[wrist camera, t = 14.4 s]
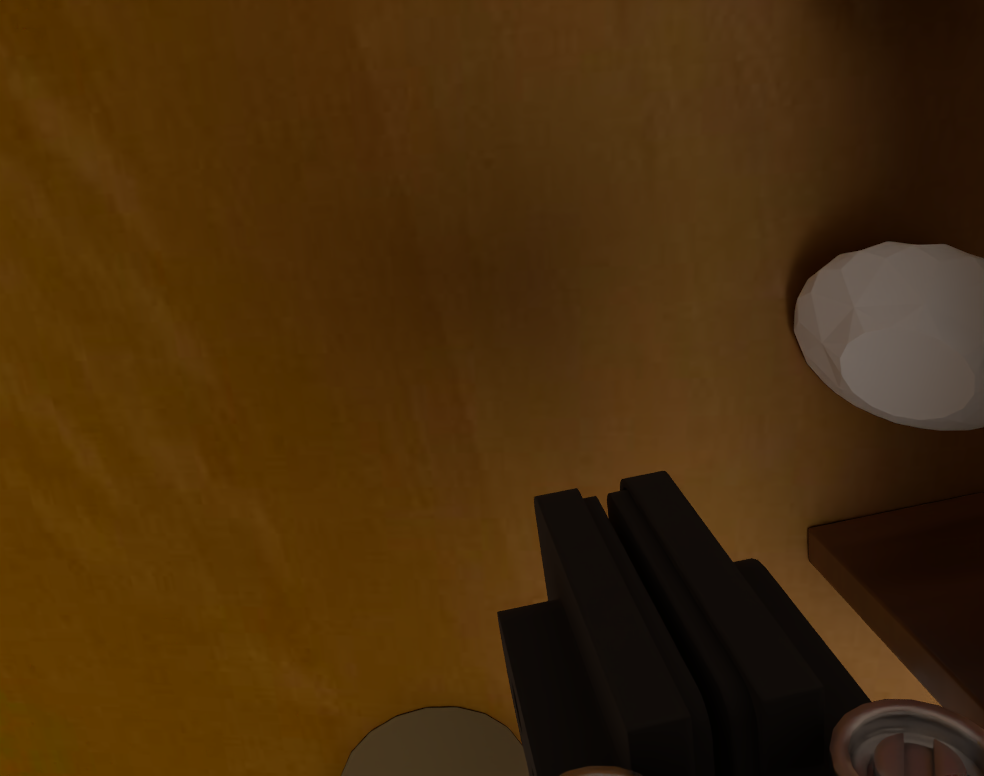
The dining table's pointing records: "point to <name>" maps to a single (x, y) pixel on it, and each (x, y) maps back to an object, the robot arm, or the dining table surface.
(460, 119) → the dining table surface
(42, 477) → the dining table surface
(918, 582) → the desk
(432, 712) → the pepper shaker
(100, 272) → the dining table surface
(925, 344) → the gemstone
